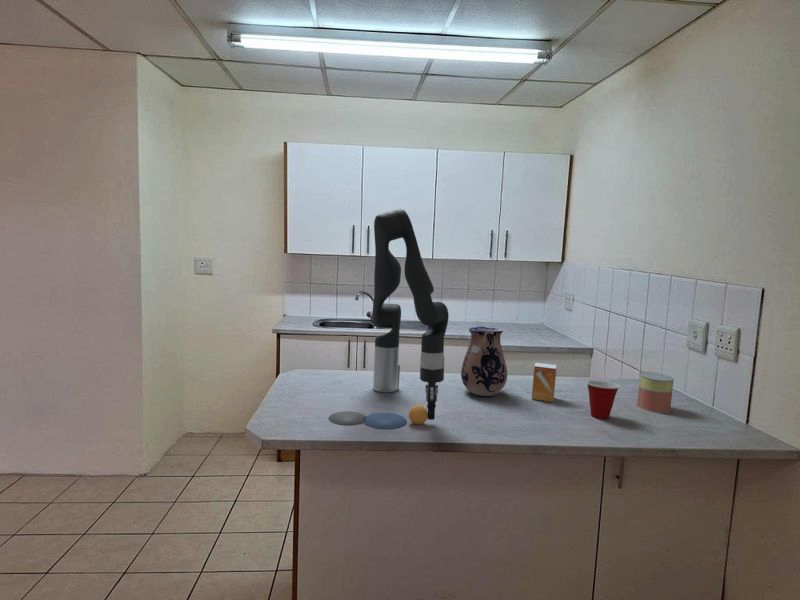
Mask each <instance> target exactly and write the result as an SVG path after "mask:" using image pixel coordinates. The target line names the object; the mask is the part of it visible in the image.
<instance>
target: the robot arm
mask: <svg viewBox="0 0 800 600" xmlns="http://www.w3.org/2000/svg"><path fill="white" fill-rule="evenodd" d="M373 221H374V222H373V231H374V233H373V234H374V248H375V250H374V251H375V257H374V259H375V260H374V275H373V277H374V278H373V279H374V281H373V283H374V287H373V288H374V289H373V290H374V291H373V303H372V314H371V320H372V321H371V322H372V324H373V326H374V327H375V328H377V329H378V328H380V329H391V330H390V331H388V332H386V333H384V334H381V335H378V336H376V337H375V340H374V356H373V357H374V358H373V360H374V362H373V363H374V364H373V382H372V383H373V385H372V387H373V388H372V389H373V390H374V391H376V392H378V393H394V392H396V391H398V390H399V389H400V369H401V368H400V367H401V365H400V364H399V351H400V350H399V349H400V330H401V321H402V319H401V318H402V308H401V305H400V304H397V303H385V301H387V299H388V298H389V297H390V296H391V295H392V294H393V293H394V292H395V291H396V290H397V289H398V287H399V286H400V284H401V277H402V267H401V264H400V262H399V260H398V259H397V257H396V256H394V254H393V253H392V252H391V251H390V247H389V246H390V245H389V244H390V242H391V241H395V240H399V239H403V242H404V244H405V248H406V251H405V252H406V254H405V262H404V270H403V271H404V277H405V280H406V283H407V285H408V288H409V290H410V292H411V294H412V298H413V305H414V309H415V313H416V317H417V319H418V321H419V322H420V323H421V324H422V325H423V326H426V327H427V330H426V331H425V332H424V333H422V335H421V340H420V341H421V346H420V347H421V349H420V358H419V359H420V361H419V363H420V364H419V366H420V367H419V368H420V369H419V380H420V381H422V382H423V383H427V384H425V388H424V389H425V395H426V396H425V401H426V402H427V403H426V404H427V405H426V408H427V412H428V418H427V420H429V421H433V420H435V417H436V415H435V414H436V413H435V412H436V411H435V410H436V407H437V406H436V402H438V394H439V385H438V384H437V383H441V382H443V381H444V380H445V354H444V353H445V352H444V351H445V349H444V348H445V347H444V346H445V340H444V339H445V335H446V332H447V328H448V323H449V318H450V317H449V309H448V307H447V305H446V303H444V302H442V301H433V298H432V296H431V295H432V294H433V293H434V291H435V289H434V288H435V287H434V285H433V282H432V281H431V278H430V276H429V274H428V271H427V269H426V267H425V263H424V261H423V258H422V255H421V251H420V248H419V244H418V240H417V237H416V233H415V230H414V228H413V227H414V226H413V225H412V224H413V223H412V220H411V218H410V216H409V214H408V213H407V212H406V210H405V209H402V208H397V209H393V210H390V211H386V212H383V213H382V212H381V213H379V214H377V215H376V216H375V218H374V220H373Z"/></svg>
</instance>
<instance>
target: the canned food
mask: <svg viewBox="0 0 800 600" xmlns="http://www.w3.org/2000/svg"><path fill="white" fill-rule="evenodd" d="M674 380H675V378H674V377H673V376H671V375H668V374H664V373H660V372H659V373H658V372H650V371H649V372H646V371H645V372H640V373H639V381H638V382H639V384H638V392H637V393H638V394H637V400H636V401H637V402H636V407H637V408H639V409H640V410H644V411H646V412H647V411H648V412H651V413H657V414H667V413H671V407H672V406H671V404H672V400H673V399H672V398H673V390H674V389H673V388H674Z"/></svg>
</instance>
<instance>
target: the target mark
mask: <svg viewBox="0 0 800 600" xmlns="http://www.w3.org/2000/svg"><path fill="white" fill-rule="evenodd" d="M365 417H366V418H363V419H366V420H365V421H364V420H363V421H364V422H363V423H364V424H365V425H366V426H368V427H370V426H371V427H370V428H373V427H374V428H375V429H378V428H379V430H394V428H395V429H399V428H402V427H405V425H407V423H408V420H407V418H405V417H404V416H403V415H399V414H397V413H392V412H391V413H390V412H375V413H370V414H368V415H365Z"/></svg>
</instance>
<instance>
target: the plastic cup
mask: <svg viewBox="0 0 800 600" xmlns="http://www.w3.org/2000/svg"><path fill="white" fill-rule="evenodd" d="M586 384H587V388H588V400H589V401H588V402H589V406H590V407H589V410H590V416H591V417H593V418H595V419H597V420H598V419H599V420H608V419H609V417H610V416H611V411H612V408H613V406H614V402H615V398H616V395H617V392H618V390H619V389H620V387H621V386H620V385H619V384H617V383H613V382H610V381H609V382H608V381H603V380H586Z"/></svg>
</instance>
